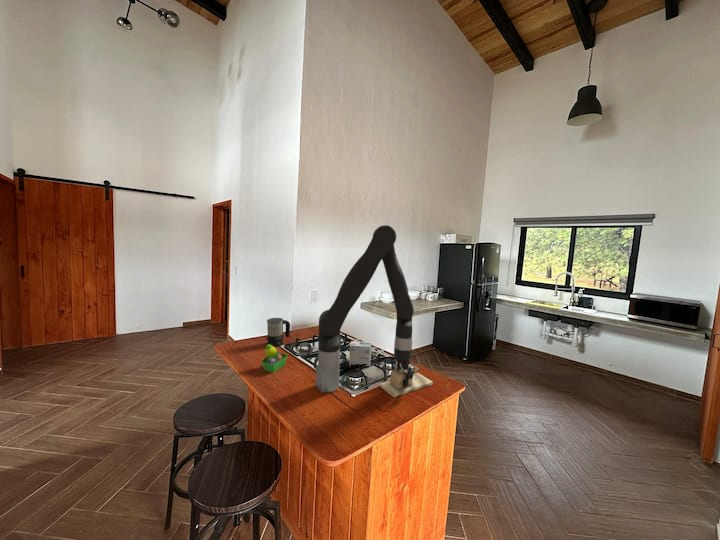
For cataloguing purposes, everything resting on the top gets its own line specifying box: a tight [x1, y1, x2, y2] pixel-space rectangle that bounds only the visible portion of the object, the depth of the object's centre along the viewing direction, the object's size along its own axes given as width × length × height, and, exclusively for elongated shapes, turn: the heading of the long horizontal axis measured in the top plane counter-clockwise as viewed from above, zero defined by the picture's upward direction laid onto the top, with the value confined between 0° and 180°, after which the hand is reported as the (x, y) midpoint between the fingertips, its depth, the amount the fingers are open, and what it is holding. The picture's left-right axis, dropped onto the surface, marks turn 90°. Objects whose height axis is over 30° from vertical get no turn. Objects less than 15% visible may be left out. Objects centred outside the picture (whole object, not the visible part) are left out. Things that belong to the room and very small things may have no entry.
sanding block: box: [390, 369, 412, 390], centre depth 126 cm, size 8×5×6 cm, turn 121°
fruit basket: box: [260, 344, 288, 373], centre depth 140 cm, size 11×9×11 cm
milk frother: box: [266, 317, 291, 348], centre depth 172 cm, size 14×16×15 cm
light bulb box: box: [348, 340, 372, 367], centre depth 147 cm, size 11×7×11 cm, turn 84°
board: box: [379, 372, 434, 398], centre depth 128 cm, size 22×10×1 cm, turn 122°
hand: (401, 383), depth 126 cm, fingers closed on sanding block, 5 cm apart
